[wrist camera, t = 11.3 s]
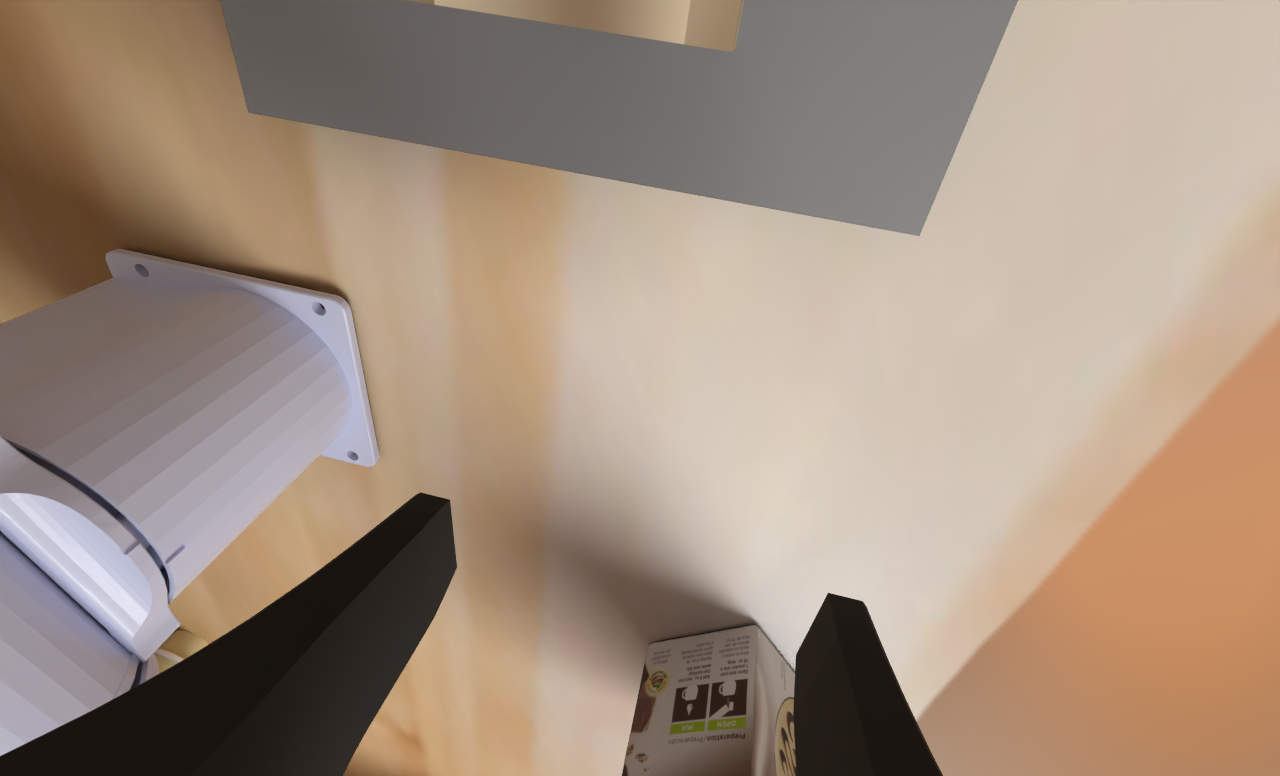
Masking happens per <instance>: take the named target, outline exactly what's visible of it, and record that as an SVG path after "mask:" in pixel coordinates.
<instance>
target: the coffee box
mask: <svg viewBox="0 0 1280 776" xmlns="http://www.w3.org/2000/svg"><path fill="white" fill-rule="evenodd" d="M794 686H795V673H794V672H793V670H792V669H791V668H790V666H789V665H788V664H787V663H786V661H785V660H784V659H783V658H782V656H781V655H780V654H779V653H778V651H777V650H776V649H775V648H774V646H773V645H772V644H771V642H770V641H769V640H768V639H767V637H766V636H765V635H764V634H763V632H762V631H761V630H760V629H759V627H758V626H755V625H751V626H745V627H739V628H734V629H729V630H724V631H718V632H712V633H706V634H701V635H696V636H689V637H684V638H679V639H673V640H668V641H662V642H656V643H652V644H650V645H649V647H648V650H647V654H646V658H645V664H644V669H643V674H642V679H641V684H640V689H639V694H638V699H637V704H636V709H635V714H634V718H633V723H632V729H631V733H630V737H629V742H628V747H627V752H626V756H625V762H624V768H623V773H622V776H797V771H796V754H795V736H794V716H793V710H794Z"/></svg>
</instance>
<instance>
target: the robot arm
mask: <svg viewBox="0 0 1280 776" xmlns="http://www.w3.org/2000/svg"><path fill="white" fill-rule="evenodd" d="M105 259H106V262H107V265H108V267H109V269H110V271H111V274H112V276H113V278H111V279H108V280H106V281H104V282H101V283H99V284H96V285H94V286H92V287H89V288H87V289H84V290H82V291H80V292H77V293H75V294H72V295H70V296H68V297H65V298H63V299H60V300H58V301H55V302H53V303H51V304H48V305H46V306H43V307H41V308H39V309H36V310H34V311H31V312H29V313H27V314H24V315H22V316H19V317H17V318H14V319H12V320H10V321H7V322H5V323H2V324H0V776H343V774H344V772H345V770H346V768H347V766H348V764H349V762H350V760H351V758H352V756H353V754H354V753H355V751H356V749H357V747H358V745H359V743H360V742H361V740H362V738H363V736H364V734H365V733H366V731H367V729H368V727H369V726H370V724H371V722H372V721H373V719H374V718H375V716H376V714H377V713H378V711H379V709H380V708H381V706H382V704H383V703H384V701H385V699H386V698H387V696H388V694H389V693H390V691H391V689H392V688H393V686H394V684H395V683H396V681H397V679H398V678H399V676H400V674H401V673H402V671H403V669H404V668H405V666H406V664H407V663H408V661H409V659H410V658H411V656H412V654H413V653H414V651H415V649H416V647H417V646H418V644H419V642H420V641H421V639H422V637H423V636H424V634H425V632H426V631H427V629H428V627H429V625H430V624H431V622H432V620H433V619H434V617H435V615H436V612H437V610H438V608H439V606H440V604H441V602H442V600H443V597H444V595H445V593H446V591H447V589H448V586H449V584H450V582H451V579H452V577H453V575H454V573H455V570H456V568H457V564H456V554H455V544H454V535H453V525H452V515H451V506H450V500H448V499H444V498H440V497H436V496H432V495H428V494H424V493H419V494H417V495H415V496H414V497H413V498H411V499H410V500H409V501H408V502H406V503H405V504H404V505H403V506H401V507H400V508H399V509H398V510H396V511H395V512H394V513H393V514H391V515H390V516H389V517H388V518H386V519H385V520H384V521H383V522H381V523H380V524H379V525H377V526H376V527H375V528H374V529H372V530H371V531H370V532H369V533H367V534H366V535H365V536H363V537H362V538H361V539H360V540H358V541H357V542H356V543H354V544H353V545H352V546H351V547H349V548H348V549H347V550H345V551H344V552H343V553H341V554H340V555H339V556H337V557H336V558H335V559H333V560H332V561H331V562H329V563H328V564H327V565H325V566H324V567H322V568H321V569H320V570H318V571H317V572H316V573H314V574H313V575H312V576H310V577H309V578H308V579H306V580H305V581H303V582H302V583H301V584H299V585H298V586H296V587H295V588H293V589H292V590H291V591H289V592H288V593H286V594H285V595H283V596H282V597H280V598H279V599H277V600H276V601H275V602H273V603H272V604H270V605H269V606H267V607H266V608H264V609H263V610H262V611H260V612H259V613H257V614H256V615H254V616H253V617H251V618H250V619H248V620H247V621H245V622H243V623H242V624H240V625H239V626H237V627H236V628H234V629H233V630H231V631H230V632H228V633H226V634H225V635H223V636H222V637H220V638H218V639H217V640H215V641H214V642H212V643H210V644H209V645H207V646H205V647H204V648H202V649H200V650H199V651H197V652H195V653H194V654H192V655H190V656H189V657H187V658H185V659H184V660H182V661H180V662H179V663H177V664H175V665H173V666H172V667H170V668H168V669H166V670H165V671H163V672H161V673H159V665H158V662H157V660H156V657H155V654H154V652H155V651H156V650H157V649H158V648H159V647H160V645H161V644H162V643H163V642H164V641H165V640H166V639H167V638H168V637H169V636H170V635H171V634H172V633H173V632H174V631H175V630H176V629H177V628H178V627H179V626H180V621H179V620H178V619H177V618H176V617H175V615H174V614H173V613H172V611H171V609H170V607H169V605H168V604H169V603H170V602H171V601H172V600H173V599H174V598H175V597H176V596H177V595H178V594H179V593H180V592H181V591H183V590H184V589H185V588H186V587H187V586H188V585H189V584H190V583H191V582H192V581H193V580H194V579H195V578H196V577H197V576H198V575H199V574H200V573H201V572H202V571H203V570H204V569H205V568H206V567H207V566H208V565H209V564H210V563H211V562H212V561H213V560H214V559H215V558H216V557H217V556H218V555H219V554H220V553H221V552H222V551H223V550H224V549H225V548H226V547H227V546H228V545H229V544H230V543H231V542H232V541H233V540H234V539H235V538H236V537H237V536H238V535H239V534H240V533H241V532H242V531H243V530H244V529H245V528H246V527H247V526H248V525H249V524H250V523H251V522H252V521H253V520H254V519H255V518H256V517H258V516H259V515H260V514H261V513H262V512H263V511H264V510H265V509H266V508H267V507H268V506H269V505H270V504H271V503H272V502H273V501H274V500H275V499H276V498H277V497H278V496H279V495H280V494H281V493H282V492H283V491H284V490H285V489H286V488H287V487H288V486H289V485H290V484H291V483H292V482H293V481H294V480H295V479H296V478H297V477H298V476H299V475H300V474H301V473H302V472H303V471H304V470H305V469H306V468H307V467H308V466H309V465H310V464H311V463H312V462H313V461H314V460H315V459H316V458H317V457H318V456H319V455H321V456H325V457H329V458H333V459H337V460H342V461H346V462H350V463H354V464H358V465H362V466H368V467H371V466H374V464H375V463H376V462H377V461H378V460H379V451H378V446H377V441H376V436H375V431H374V426H373V421H372V415H371V410H370V405H369V400H368V395H367V390H366V384H365V379H364V374H363V369H362V364H361V359H360V354H359V348H358V343H357V338H356V333H355V328H354V323H353V318H352V312H351V309H350V306H349V304H348V303H347V302H346V301H345V300H344V299H343V298H342V297H340V296H337V295H334V294H329V293H325V292H320V291H315V290H311V289H306V288H301V287H297V286H292V285H287V284H283V283H278V282H273V281H269V280H264V279H259V278H255V277H250V276H245V275H241V274H236V273H231V272H227V271H222V270H217V269H213V268H208V267H203V266H199V265H194V264H189V263H185V262H180V261H175V260H171V259H166V258H161V257H157V256H152V255H147V254H143V253H138V252H133V251H129V250H124V249H115V250H112V251H110V252H108V253H107V254H106V257H105ZM320 304H322V305H323V306H324V308H325V309H323V308H322V307H321V305H320ZM793 716H794V736H795V754H796V771H797V776H943V775H942V773H941V771H940V769H939V767H938V765H937V763H936V761H935V759H934V757H933V755H932V753H931V751H930V749H929V747H928V745H927V743H926V741H925V739H924V736H923V734H922V733H921V730H920V728H919V726H918V724H917V722H916V720H915V718H914V716H913V714H912V712H911V709H910V707H909V705H908V703H907V701H906V699H905V696H904V694H903V692H902V690H901V688H900V685H899V683H898V681H897V679H896V676H895V674H894V672H893V670H892V667H891V665H890V663H889V660H888V658H887V656H886V653H885V651H884V649H883V646H882V644H881V641H880V639H879V637H878V634H877V632H876V629H875V627H874V624H873V622H872V619H871V617H870V614H869V612H868V609H867V607H866V606H865V604H864V603H863V601H859V600H855V599H851V598H847V597H843V596H838V595H834V594H830V593H828V594H827V596H826V598H825V600H824V602H823V604H822V606H821V608H820V610H819V612H818V614H817V616H816V618H815V620H814V622H813V623H812V625H811V627H810V629H809V631H808V633H807V635H806V637H805V639H804V641H803V643H802V645H801V647H800V649H799V650H798V652H797V654H796V668H795V686H794V710H793Z"/></svg>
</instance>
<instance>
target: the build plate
mask: <svg viewBox="0 0 1280 776" xmlns="http://www.w3.org/2000/svg"><path fill="white" fill-rule="evenodd" d="M1017 1H1018V0H220V2H221V6H222V10H223V14H224V18H225V22H226V26H227V30H228V34H229V38H230V41H231V45H232V49H233V53H234V57H235V61H236V65H237V69H238V73H239V77H240V81H241V85H242V89H243V93H244V97H245V101H246V104H247V108H248V112H249V113H254V114H259V115H265V116H270V117H276V118H281V119H287V120H292V121H297V122H303V123H308V124H314V125H319V126H325V127H330V128H335V129H341V130H346V131H352V132H357V133H363V134H368V135H373V136H379V137H384V138H390V139H395V140H401V141H406V142H411V143H417V144H422V145H428V146H433V147H439V148H444V149H450V150H455V151H460V152H466V153H471V154H477V155H482V156H488V157H493V158H498V159H504V160H509V161H515V162H520V163H526V164H531V165H536V166H542V167H547V168H553V169H558V170H564V171H569V172H574V173H580V174H585V175H591V176H596V177H602V178H607V179H612V180H618V181H623V182H629V183H634V184H640V185H645V186H651V187H656V188H661V189H667V190H672V191H678V192H683V193H689V194H694V195H699V196H705V197H710V198H716V199H721V200H727V201H732V202H737V203H743V204H748V205H754V206H759V207H765V208H770V209H775V210H781V211H786V212H792V213H797V214H803V215H808V216H813V217H819V218H824V219H830V220H835V221H841V222H846V223H851V224H857V225H862V226H868V227H873V228H879V229H884V230H890V231H895V232H900V233H906V234H911V235H917V236H919V235H920V233H921V231H922V228H923V226H924V223H925V221H926V219H927V216H928V214H929V211H930V209H931V207H932V204H933V202H934V200H935V197H936V195H937V192H938V190H939V188H940V185H941V183H942V180H943V178H944V176H945V173H946V171H947V169H948V166H949V164H950V161H951V159H952V157H953V154H954V152H955V149H956V147H957V145H958V142H959V140H960V137H961V135H962V133H963V130H964V128H965V126H966V123H967V121H968V118H969V116H970V114H971V111H972V109H973V106H974V104H975V102H976V99H977V97H978V95H979V92H980V90H981V87H982V85H983V83H984V80H985V78H986V75H987V73H988V71H989V68H990V66H991V64H992V61H993V59H994V56H995V54H996V52H997V49H998V47H999V44H1000V42H1001V40H1002V37H1003V35H1004V32H1005V30H1006V28H1007V25H1008V23H1009V21H1010V18H1011V16H1012V13H1013V11H1014V9H1015V6H1016V4H1017Z"/></svg>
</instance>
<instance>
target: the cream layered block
mask: <svg viewBox="0 0 1280 776" xmlns="http://www.w3.org/2000/svg"><path fill="white" fill-rule="evenodd" d="M207 645H208V644H207V643H206V642H205V641H204V640H203V639H201V638H200V637H198V636H197V635H195V634H193V633H190V632H187V631H183V630H178V631H176V632H175V633H172V634H171V635H170V636H169V637H168V638H167V639H166V640H165V641H164V642H163V643H162V644H161V645H160V647H159V648H158V649H157V650H156V651H155V652H154V654H155V657H156V660H157V662H158V665H159V673H161V672H163V671H165V670H166V669H168V668H170V667H172V666H173V665H175V664H177V663H179V662H180V661H182V660H184V659H185V658H187V657H189V656H190V655H192V654H194V653H195V652H197V651H199V650H200V649H202V648H204V647H205V646H207Z"/></svg>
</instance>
